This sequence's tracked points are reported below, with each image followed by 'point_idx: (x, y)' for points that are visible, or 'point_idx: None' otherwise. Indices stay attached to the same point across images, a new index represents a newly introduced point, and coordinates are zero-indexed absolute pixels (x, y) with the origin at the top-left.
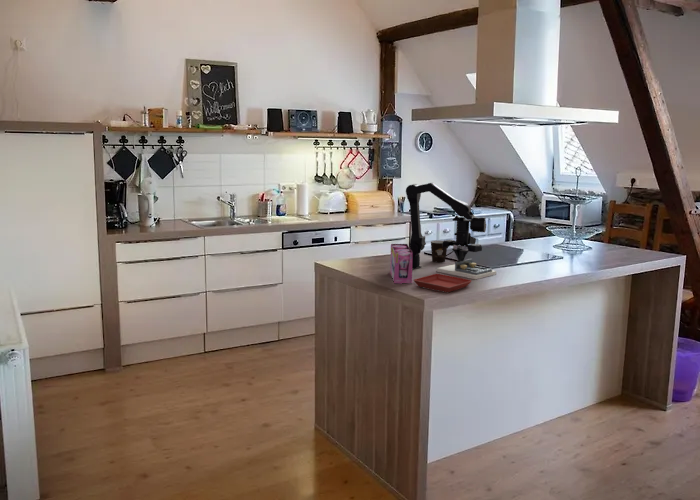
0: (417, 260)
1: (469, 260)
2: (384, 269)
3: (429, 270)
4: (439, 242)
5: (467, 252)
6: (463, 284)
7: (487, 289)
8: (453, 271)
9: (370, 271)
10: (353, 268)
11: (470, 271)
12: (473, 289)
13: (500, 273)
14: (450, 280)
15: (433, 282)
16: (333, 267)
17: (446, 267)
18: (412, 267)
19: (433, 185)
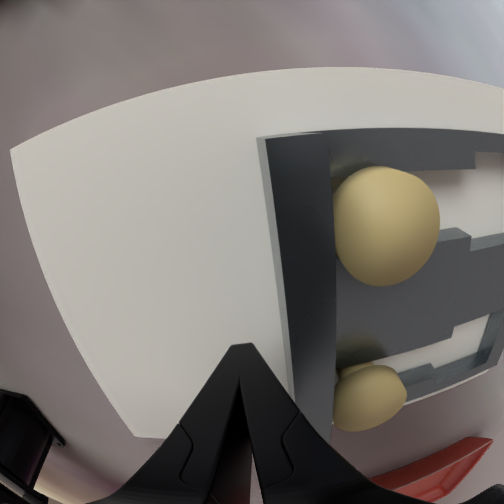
0: (27, 452)
1: (331, 262)
2: (61, 476)
3: (103, 422)
4: None
5: (386, 491)
6: (471, 462)
7: None
8: None
9: (88, 499)
10: (46, 487)
11: (453, 383)
12: (492, 428)
13: (501, 40)
14: (403, 474)
15: None
16: (36, 490)
17: (134, 384)
18: (49, 439)
19: None
